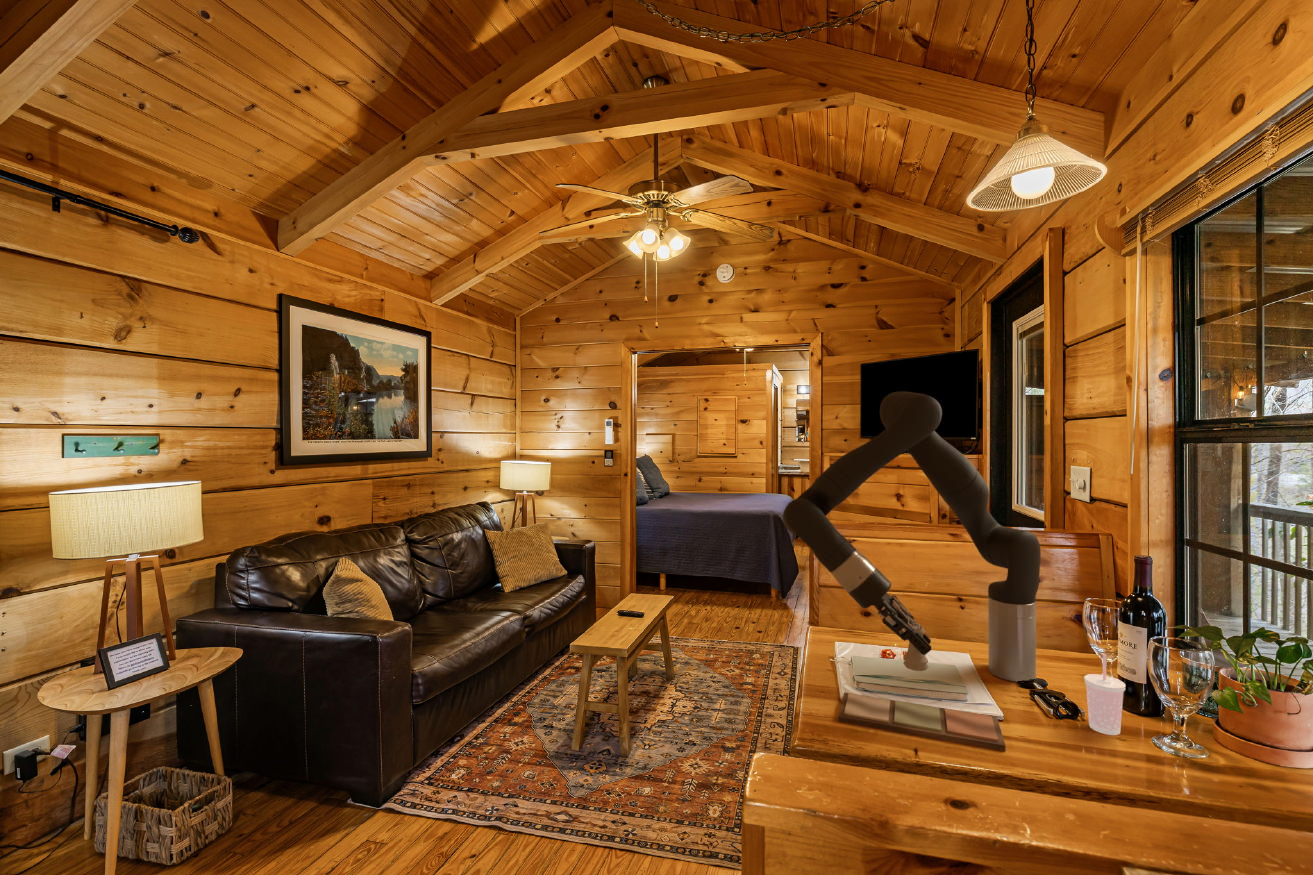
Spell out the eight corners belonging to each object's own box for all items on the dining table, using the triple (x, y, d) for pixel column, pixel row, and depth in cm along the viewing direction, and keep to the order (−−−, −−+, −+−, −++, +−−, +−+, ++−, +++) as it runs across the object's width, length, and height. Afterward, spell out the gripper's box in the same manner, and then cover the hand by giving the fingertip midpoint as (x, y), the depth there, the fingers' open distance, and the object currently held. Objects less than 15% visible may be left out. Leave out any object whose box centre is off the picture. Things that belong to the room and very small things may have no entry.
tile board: (844, 696, 123) (844, 690, 123) (996, 721, 112) (996, 714, 112) (838, 721, 113) (838, 714, 113) (1005, 751, 102) (1005, 743, 102)
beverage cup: (1083, 717, 113) (1083, 645, 113) (1124, 726, 110) (1124, 652, 109) (1084, 730, 108) (1084, 655, 108) (1126, 740, 105) (1126, 663, 104)
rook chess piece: (931, 672, 110) (931, 630, 109) (905, 670, 110) (906, 628, 110) (925, 663, 114) (925, 622, 114) (901, 661, 115) (901, 621, 115)
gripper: (872, 574, 108) (945, 649, 104) (876, 558, 121) (941, 624, 117) (842, 599, 111) (912, 674, 106) (849, 581, 124) (912, 647, 119)
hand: (927, 647), depth 111 cm, fingers closed on rook chess piece, 3 cm apart
